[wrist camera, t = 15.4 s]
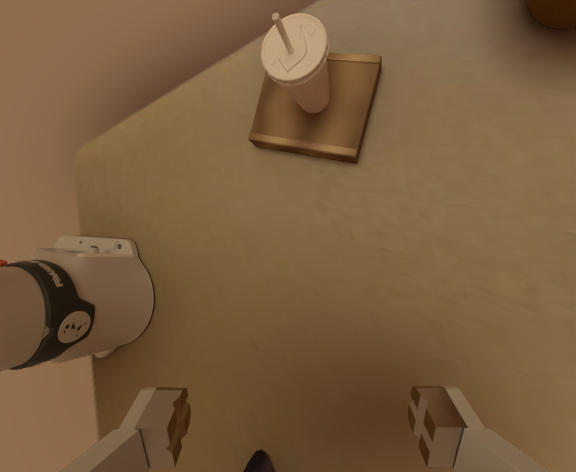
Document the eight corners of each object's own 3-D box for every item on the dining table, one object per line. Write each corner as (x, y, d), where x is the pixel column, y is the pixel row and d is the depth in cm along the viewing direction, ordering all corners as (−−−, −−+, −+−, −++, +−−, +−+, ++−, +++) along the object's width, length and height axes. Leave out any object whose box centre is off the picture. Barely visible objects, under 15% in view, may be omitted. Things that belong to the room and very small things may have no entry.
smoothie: (284, 121, 37) (232, 49, 24) (295, 71, 37) (248, -29, 24) (334, 126, 36) (307, 50, 22) (346, 74, 36) (325, -35, 22)
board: (256, 146, 41) (248, 139, 39) (277, 61, 41) (270, 48, 38) (356, 163, 37) (355, 157, 34) (381, 69, 37) (381, 55, 34)
